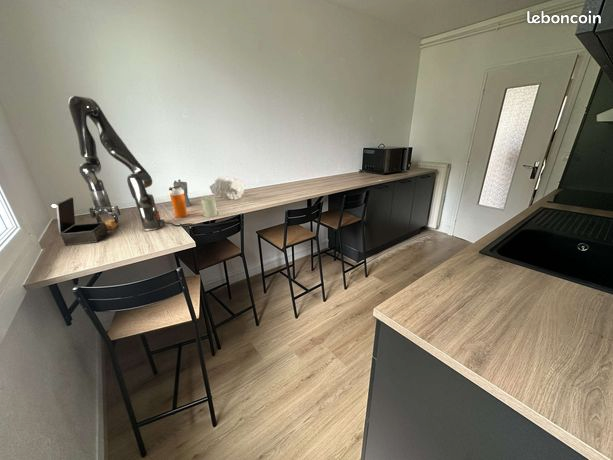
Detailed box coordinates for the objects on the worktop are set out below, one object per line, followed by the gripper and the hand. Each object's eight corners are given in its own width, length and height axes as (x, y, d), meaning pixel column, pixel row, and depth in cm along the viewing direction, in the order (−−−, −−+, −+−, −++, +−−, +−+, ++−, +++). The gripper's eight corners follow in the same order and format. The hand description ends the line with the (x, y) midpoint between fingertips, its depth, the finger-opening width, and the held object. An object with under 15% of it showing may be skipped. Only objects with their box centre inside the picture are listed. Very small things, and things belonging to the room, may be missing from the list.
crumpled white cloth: (223, 199, 218) (244, 202, 206) (206, 195, 203) (228, 198, 191) (227, 178, 218) (248, 180, 206) (210, 173, 203) (232, 174, 191)
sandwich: (117, 225, 155) (115, 219, 154) (113, 229, 150) (111, 223, 149) (108, 226, 154) (106, 220, 153) (103, 230, 149) (101, 223, 147)
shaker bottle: (191, 214, 172) (185, 186, 164) (180, 218, 165) (174, 189, 157) (182, 212, 176) (176, 184, 168) (171, 217, 168) (164, 187, 160)
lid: (73, 197, 134) (62, 196, 132) (58, 204, 123) (46, 203, 121) (75, 224, 139) (64, 222, 138) (60, 233, 128) (49, 232, 126)
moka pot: (184, 208, 183) (178, 181, 175) (172, 205, 191) (165, 179, 183) (195, 205, 191) (190, 179, 183) (183, 202, 198) (177, 177, 190)
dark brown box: (108, 233, 145) (104, 222, 142) (97, 242, 134) (93, 231, 131) (79, 235, 142) (74, 224, 139) (65, 245, 131) (60, 234, 128)
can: (200, 214, 172) (197, 197, 167) (213, 211, 178) (210, 195, 173) (207, 218, 166) (204, 200, 161) (220, 214, 172) (217, 197, 167)
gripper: (82, 200, 140) (92, 226, 147) (111, 198, 143) (119, 224, 150) (89, 196, 147) (98, 222, 153) (117, 194, 150) (124, 220, 156)
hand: (109, 223), depth 151 cm, fingers open, 8 cm apart
